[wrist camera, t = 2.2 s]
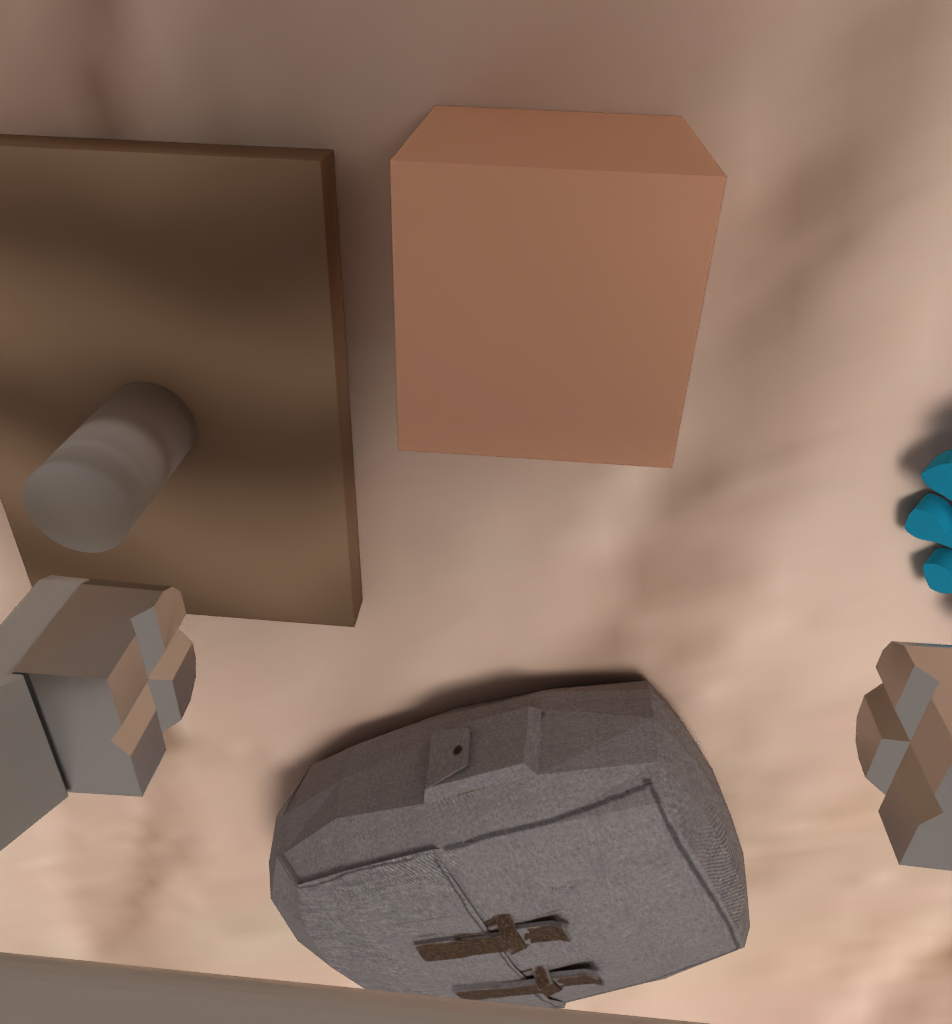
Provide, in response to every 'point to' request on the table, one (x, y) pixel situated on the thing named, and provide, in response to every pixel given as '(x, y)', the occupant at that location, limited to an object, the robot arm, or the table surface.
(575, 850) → the small grey backpack
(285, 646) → the table surface
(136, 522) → the stub plate
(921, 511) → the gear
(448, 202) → the salmon orange block
